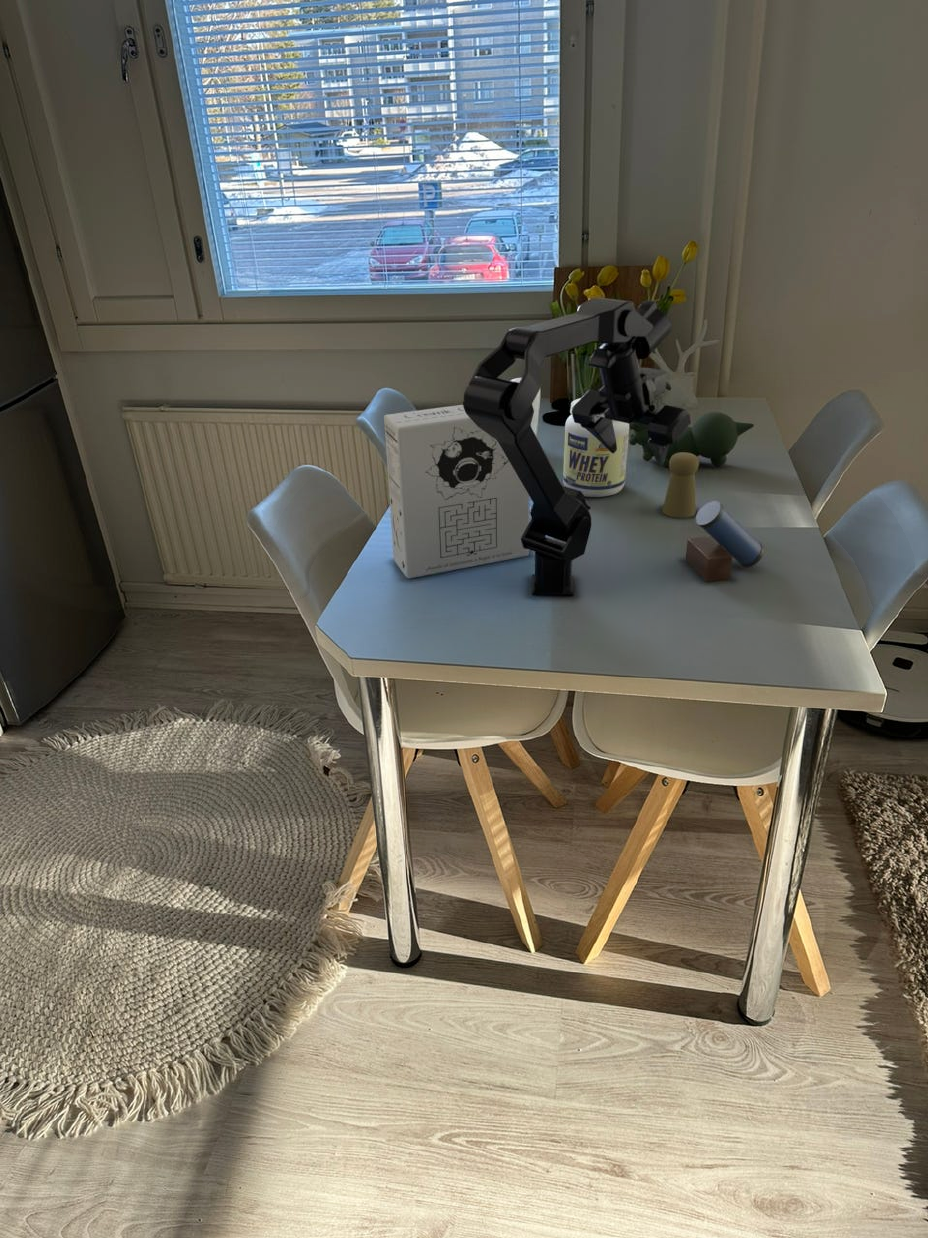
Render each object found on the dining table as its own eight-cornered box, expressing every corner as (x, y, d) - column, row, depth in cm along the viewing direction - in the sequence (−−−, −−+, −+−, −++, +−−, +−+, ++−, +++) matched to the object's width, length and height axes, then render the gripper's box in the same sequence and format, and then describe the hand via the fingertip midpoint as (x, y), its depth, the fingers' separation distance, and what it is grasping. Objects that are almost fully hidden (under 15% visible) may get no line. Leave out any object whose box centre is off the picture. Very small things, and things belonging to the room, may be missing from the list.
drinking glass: (503, 446, 197) (503, 379, 190) (530, 441, 200) (531, 375, 192) (517, 455, 192) (518, 386, 184) (544, 450, 194) (546, 382, 187)
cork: (658, 514, 161) (663, 457, 156) (667, 503, 166) (673, 447, 161) (690, 519, 159) (697, 461, 153) (699, 508, 164) (706, 451, 158)
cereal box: (511, 539, 153) (512, 397, 141) (529, 556, 147) (531, 409, 135) (393, 561, 147) (383, 414, 134) (407, 579, 141) (397, 427, 128)
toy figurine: (628, 476, 184) (753, 471, 178) (626, 386, 175) (758, 378, 169) (630, 461, 192) (750, 456, 186) (628, 374, 183) (754, 366, 177)
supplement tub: (556, 495, 171) (559, 410, 162) (570, 474, 181) (573, 392, 172) (618, 502, 167) (624, 414, 159) (629, 480, 177) (635, 397, 169)
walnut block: (705, 582, 138) (708, 559, 136) (685, 560, 144) (687, 538, 142) (729, 579, 138) (732, 556, 136) (707, 558, 145) (710, 535, 143)
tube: (698, 578, 139) (705, 509, 133) (686, 565, 143) (693, 498, 137) (766, 569, 141) (776, 501, 135) (753, 557, 145) (762, 491, 139)
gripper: (704, 355, 129) (714, 438, 140) (601, 338, 141) (617, 417, 152) (663, 399, 125) (677, 482, 136) (560, 378, 137) (580, 456, 148)
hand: (637, 457), depth 143 cm, fingers open, 9 cm apart
